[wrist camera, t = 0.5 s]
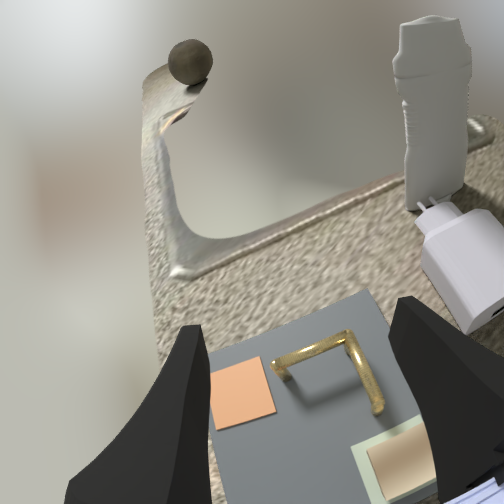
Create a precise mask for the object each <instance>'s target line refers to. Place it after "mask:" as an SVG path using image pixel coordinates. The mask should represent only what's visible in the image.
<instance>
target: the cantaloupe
mask: <svg viewBox="0 0 504 504" xmlns="http://www.w3.org/2000/svg"><path fill="white" fill-rule="evenodd" d="M212 64H213V58H212V54H211V51H210V50H209V48H208V47H207V46H206V45H205V44H204V43H202V42H200V41H198V40H195V39H189V40H186V41H183V42H180V43H178V44H177V45H175V46H174V47H173V49H172V50H171V52H170V54H169V58H168V67H169V70H170V72H171V74H172V75H173V77H174V78H175V79H176V80H178V81H179V82H181V83H183V84H185V85H195V84H198V83H200V82H201V81H203V80H204V79H205V78H206V77H207V75H208V74H209V71H210V70H211V67H212Z"/></svg>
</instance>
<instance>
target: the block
mask: <svg viewBox="0 0 504 504" xmlns="http://www.w3.org/2000/svg"><path fill="white" fill-rule="evenodd" d="M366 453H367V455H368V458H369V461H370V463H371V466H372V468H373V471H374V474H375V476H376V479H377V482H378V484H379V487H380V490H381V492H382V495H383V497H384V498H385V500H386V501H388V500H390V499H392V498H395V497H397V496H399V495H401V494H403V493H406V492H408V491H410V490H412V489H414V488H416V487H418V486H420V485H422V484H424V483H426V482H428V481H430V480H431V479H433V478H435V477H436V472H435V466H434V461H433V456H432V451H431V446H430V442H429V439H428V435H427V431H426V428H425V425H424V422H422V423H420V424H418V425H416V426H414V427H412V428H410V429H409V430H407V431H405V432H403V433H401V434H399V435H397V436H394V437H392V438H390V439H388V440H386V441H384V442H382V443H379V444H377V445H375V446H373V447H370V448H368V449H367V451H366Z"/></svg>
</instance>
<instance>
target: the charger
mask: <svg viewBox="0 0 504 504" xmlns="http://www.w3.org/2000/svg"><path fill="white" fill-rule="evenodd" d="M429 200H430V201H431V202H432V203H433V204H434V206H433V207H431V208H429V209H426V208H425V207H424V205H423V204H422V203H421V202H418V203H417V205H418V206H419V207H420V208H421V210H422V211H423V213H422V214H421V215H420V216H419V217H418V218H417V219H416V220H415V224H416V225H417V226H418V227H419V228H420V230H421V231H422V232H423V234H424V235H425V240H424V244H423V249H422V257H421V264H420V266H421V268H422V269H423V270H424V272H425V273H426V275H427V276H428V278H429V279H430V281H431V282H432V284H433V285H434V287H435V288H436V290H437V292H438V293H439V295H440V296H441V298H442V299H443V301H444V303H445V304H446V306H447V307H448V309H449V311H450V312H451V314H452V315H453V317H454V319H455V320H456V322H457V324H458V325H459V327H460V329H461V330H462V332H463V333H464V334H465V335H468V334H470V333H472V332H473V331H475V330H476V329H478V328H479V327H481V326H483V325H484V324H486V323H487V322H489V321H490V320H492V319H493V318H494V317H496V316H497V315H499V314H500V313H502V312H503V311H504V309H503V310H502V311H500V312H499V313H497V314H496V315H494V316H493V317H491V316H492V315H493V313H495V312H496V311H498V310H499V309H500V308H502V307H503V306H504V227H503V226H502V225H501V223H500V222H499V221H498V220H497V219H496V218H495V217H494V216H493V215H492V214H491V212H490V211H489V210H485V209H473V210H471V211H469V212H467V213H466V214H463V213H462V212H461V211H460V210H459V209H458V208H457V207H456V206H455V205H454V204H453V203H452V202H442V203H440V204H438V203H437V202H436V201H435V199H434V198H433V197H431V196H430V197H429Z"/></svg>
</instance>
